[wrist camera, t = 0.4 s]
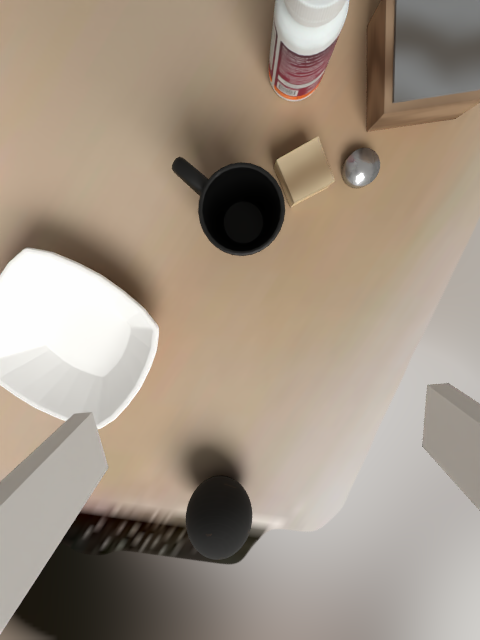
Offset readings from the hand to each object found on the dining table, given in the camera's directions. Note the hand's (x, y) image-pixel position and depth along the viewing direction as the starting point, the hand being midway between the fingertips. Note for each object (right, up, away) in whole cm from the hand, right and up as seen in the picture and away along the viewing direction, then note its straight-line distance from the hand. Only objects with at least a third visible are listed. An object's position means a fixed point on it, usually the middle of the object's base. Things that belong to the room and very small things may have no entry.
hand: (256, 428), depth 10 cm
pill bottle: (+6, +33, +19) cm, 38 cm away
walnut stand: (+19, +32, +19) cm, 41 cm away
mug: (-2, +18, +23) cm, 29 cm away
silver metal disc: (+14, +23, +21) cm, 34 cm away
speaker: (-4, -24, +34) cm, 42 cm away
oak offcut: (+7, +22, +22) cm, 31 cm away
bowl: (-23, +2, +28) cm, 36 cm away
